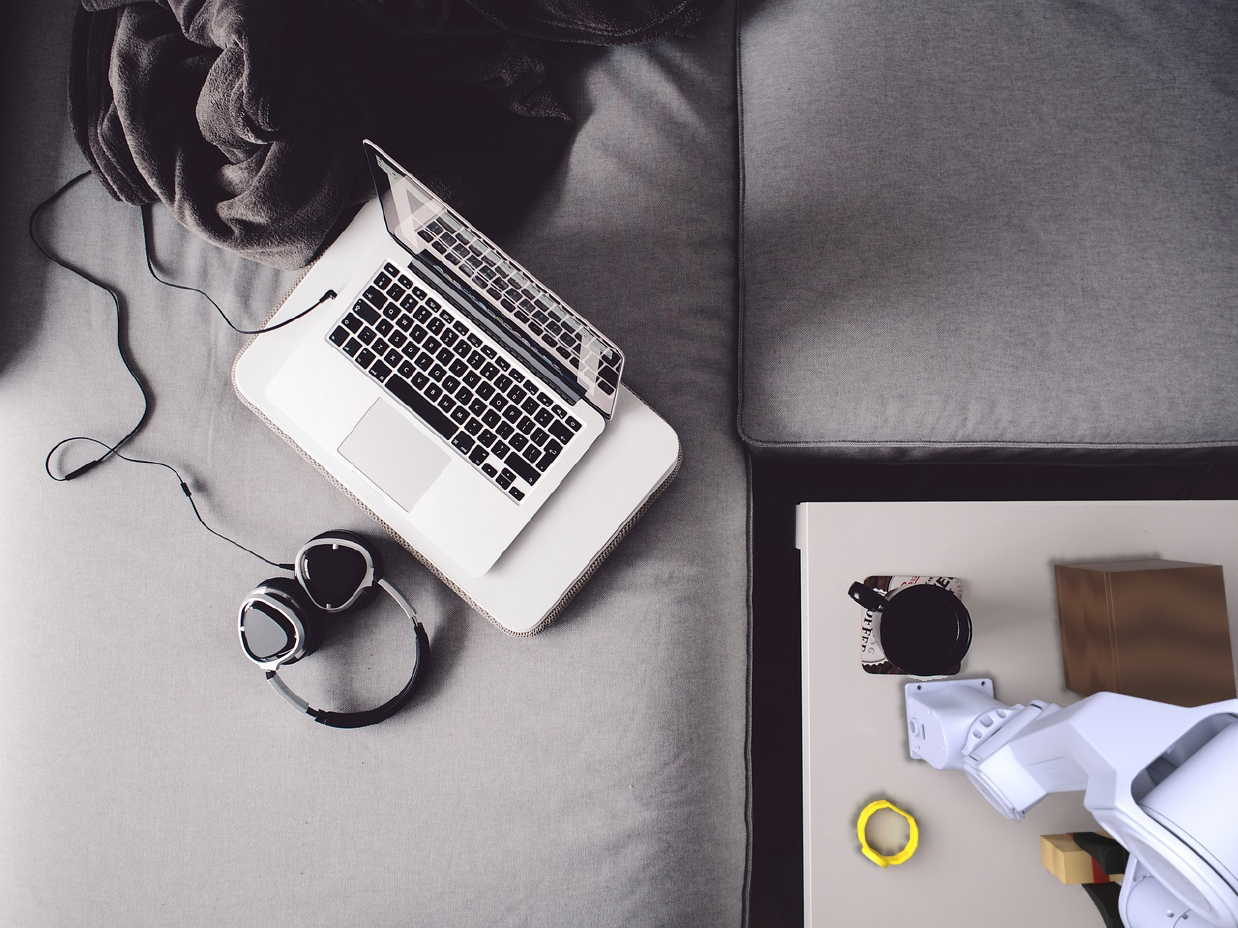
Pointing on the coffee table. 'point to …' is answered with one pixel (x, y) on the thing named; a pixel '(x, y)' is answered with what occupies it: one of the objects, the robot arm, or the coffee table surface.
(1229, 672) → the cabinet
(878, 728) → the coffee table surface
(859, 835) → the yellow rubber band ring
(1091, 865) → the tan red striped block
